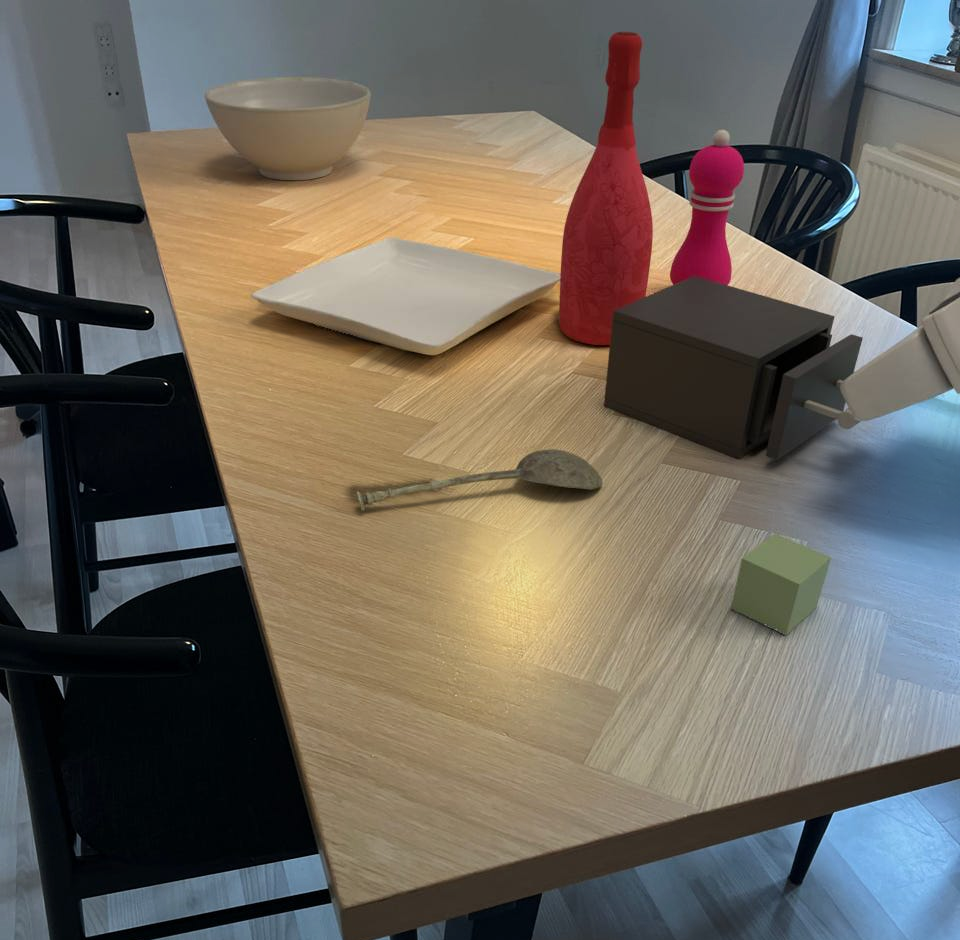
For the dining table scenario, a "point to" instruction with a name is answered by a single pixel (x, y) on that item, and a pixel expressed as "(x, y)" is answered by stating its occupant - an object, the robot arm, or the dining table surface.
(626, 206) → the wine bottle
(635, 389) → the drawer cabinet
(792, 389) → the open drawer with handle
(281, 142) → the decorative bowl
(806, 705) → the dining table surface
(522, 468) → the soupspoon
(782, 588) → the block
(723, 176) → the pepper mill
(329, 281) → the square plate
